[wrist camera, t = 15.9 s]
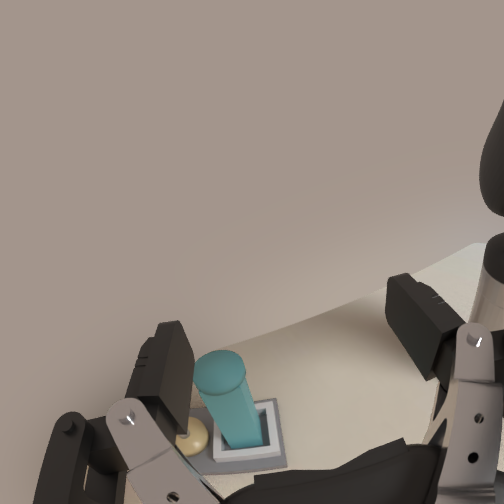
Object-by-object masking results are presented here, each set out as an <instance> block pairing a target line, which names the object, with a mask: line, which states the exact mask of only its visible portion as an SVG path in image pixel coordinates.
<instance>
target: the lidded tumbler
mask: <svg viewBox="0 0 504 504" xmlns="http://www.w3.org/2000/svg"><path fill="white" fill-rule="evenodd" d="M245 375H246V369H245V366H244V363H243V360H242V358H241V357H240V356H239V355H238V354H236V353H235V352H232V351H228V350H218V351H213V352H210V353H208V354H205V355H204V356H202V357H201V358H199V359H198V360H197V361H196V362H195V366H194V374H193V382H194V384H195V385H196V387H197V389H198V390H199V394H200V396H201V398H202V400H203V401H204V403H205V405H206V407H207V409H208V410H209V412H210V414H211V416H212V417H213V419H214V421H215V422H216V424H217V426H218V427H219V429H220V431H221V432H222V434H223V436H224V437H225V439H226V441H227V442H228V444H229V445H230V447H231V449H236V448H245V447H253V446H260V445H263V441H262V432H261V423H260V419H259V416H258V413H257V410H256V407H255V404H254V402H253V399H252V396H251V393H250V390H249V387H248V384H247V381H246V378H245Z"/></svg>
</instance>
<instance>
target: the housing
mask: <svg viewBox="0 0 504 504" xmlns="http://www.w3.org/2000/svg"><path fill="white" fill-rule="evenodd" d="M254 404H255V407H256V410H257V413H258V416H259V419H260V423H261V432H262V441H263V445H260V446H253V447H245V448H236V449H231V447H230V445H229V444H228V442H227V441H226V439H225V437H224V436H223V434H222V432H221V431H220V429H219V427H218V426H217V424H216V422H215V421H214V419H213V417H212V416H211V414H210V412H209V410H208V409H207V407H205V408H193V409H190V410H189V420H188V431H187V435H176V445H177V446H178V447H179V448H180V450H181V451H182V452H183V454H184V455H185V456H186V457H187V458H188V460H189V461H190V462H191V463H192V464H193V466H194V467H195V468H196V469H197V470H198V472H199V473H200V474H201V475H223V474H238V473H249V472H258V471H266V470H273V469H279V468H286V467H287V461H286V454H285V448H284V442H283V436H282V429H281V423H280V417H279V411H278V404H277V399H276V398H273V399H267V400H261V401H255V402H254Z"/></svg>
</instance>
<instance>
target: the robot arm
mask: <svg viewBox="0 0 504 504" xmlns="http://www.w3.org/2000/svg"><path fill="white" fill-rule="evenodd" d="M479 181H480V189H481V193H482V197H483V199H484V202H485V203H486V205H487V206H488V208H489V209H490V210H491V211H492V212H494V213H496V214H498V215H500V216H503V217H504V101H503V104H502V106H501V109H500V111H499V113H498V116H497V118H496V120H495V122H494V124H493V126H492V128H491V130H490V133H489V135H488V137H487V140H486V143H485V145H484V148H483V152H482V156H481V162H480V173H479ZM385 314H386V319H387V322H388V324H389V325H390V327H391V328H392V330H393V331H394V333H395V334H396V336H397V337H398V339H399V340H400V342H401V343H402V345H403V346H404V348H405V349H406V351H407V352H408V354H409V355H410V357H411V358H412V360H413V361H414V363H415V365H416V366H417V368H418V369H419V371H420V372H421V374H422V376H423V377H424V379H425V380H426V381H428V380H430V379H433V378H435V377H437V378H438V380H439V382H438V384H437V389H436V394H435V400H434V405H433V409H432V414H431V418H430V423H429V426H428V430H427V432H426V434H425V437H424V439H423V442H422V444H409V445H406V443H405V441H404V439H403V437H402V438H400V439H398V440H395V441H393V442H390V443H387V444H385V445H382V446H379V447H376V448H374V449H371V450H368V451H367V452H365V453H363V454H362V455H360V456H358V457H356V458H355V459H353V460H351V461H349V462H347V463H346V464H344V465H342V466H340V467H338V468H336V469H331V470H288V471H282V472H276V473H269V474H261V475H254V484H251V485H248V486H246V487H244V488H241V489H239V490H238V491H236V492H234V493H232V494H231V495H230V496H228V497H227V498H225V499H224V498H223V497H222V496H221V495H220V494H219V493H218V492H217V491H216V490H215V489H214V488H213V487H212V486H211V485H210V484H209V483H208V482H207V480H206V479H205V478H204V477H203V476H202V475H201V474H200V473H199V472H198V470H197V469H196V468H195V467H194V466H193V464H192V463H191V462H190V461H189V460H188V458H187V457H186V456H185V455H184V454H183V452H182V451H181V450H180V448H179V447H178V446H177V445H176V435H187V431H188V420H189V410H190V401H191V391H192V383H193V374H194V366H195V360H194V354H193V351H192V348H191V346H190V344H189V342H188V339H187V337H186V334H185V332H184V329H183V327H182V325H181V323H180V321H178V320H177V321H171V322H163V323H159V324H158V327H157V330H156V333H155V336H154V337H149V338H148V339H147V341H146V342H145V343H144V344H143V345H142V347H141V349H140V352H139V355H138V359H137V361H136V364H135V368H134V370H133V373H132V376H131V379H130V382H129V386H128V389H127V392H126V395H125V398H124V399H121V400H119V401H117V402H116V403H114V404H113V405H112V406H111V407H110V408H109V410H108V412H107V415H106V416H103V417H99V418H95V419H91V420H86V419H85V418H84V417H83V416H82V415H81V414H80V413H78V412H68V413H66V414H64V415H62V416H61V417H60V418H59V419H58V420H57V422H56V423H55V426H54V429H53V432H52V434H51V438H50V441H49V444H48V447H47V450H46V453H45V457H44V460H43V464H42V468H41V471H40V475H39V479H38V483H37V487H36V492H35V496H34V501H33V504H124V493H125V483H126V475H127V477H128V480H129V481H130V483H131V485H132V487H133V488H134V490H135V492H136V493H137V495H138V497H139V498H140V500H141V501H142V503H143V504H504V472H502V471H499V470H497V464H498V458H499V450H500V442H501V432H502V417H503V418H504V233H501V234H498V235H496V236H494V237H492V238H491V239H490V240H489V241H488V243H487V245H486V249H485V254H484V259H483V265H482V270H481V274H480V279H479V284H478V288H477V292H476V296H475V300H474V304H473V307H472V311H471V314H470V318H469V321H468V323H466V322H465V321H464V320H463V319H462V318H461V317H460V316H459V315H458V314H457V313H456V312H455V311H454V310H453V309H452V308H451V307H450V306H449V305H448V304H447V303H446V302H445V301H444V300H443V299H442V298H441V297H440V296H439V295H438V294H437V293H436V292H435V291H434V290H433V289H432V288H431V287H430V286H428V285H426V284H424V283H422V282H417V281H416V280H415V279H413V278H412V277H411V276H410V275H409V274H408V273H403V274H400V275H396V276H392V277H390V278H389V279H388V282H387V294H386V306H385ZM87 465H88V466H89V469H88V474H87V480H86V485H85V491H84V488H83V485H84V479H85V474H86V469H87ZM127 470H130V471H128V472H127Z"/></svg>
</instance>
